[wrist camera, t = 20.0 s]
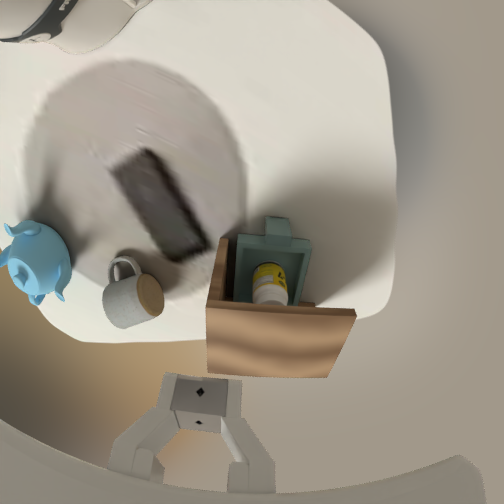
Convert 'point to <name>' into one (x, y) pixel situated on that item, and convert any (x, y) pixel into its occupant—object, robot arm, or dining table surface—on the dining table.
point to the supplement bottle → (269, 284)
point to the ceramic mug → (131, 297)
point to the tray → (271, 248)
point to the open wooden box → (270, 333)
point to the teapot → (37, 260)
